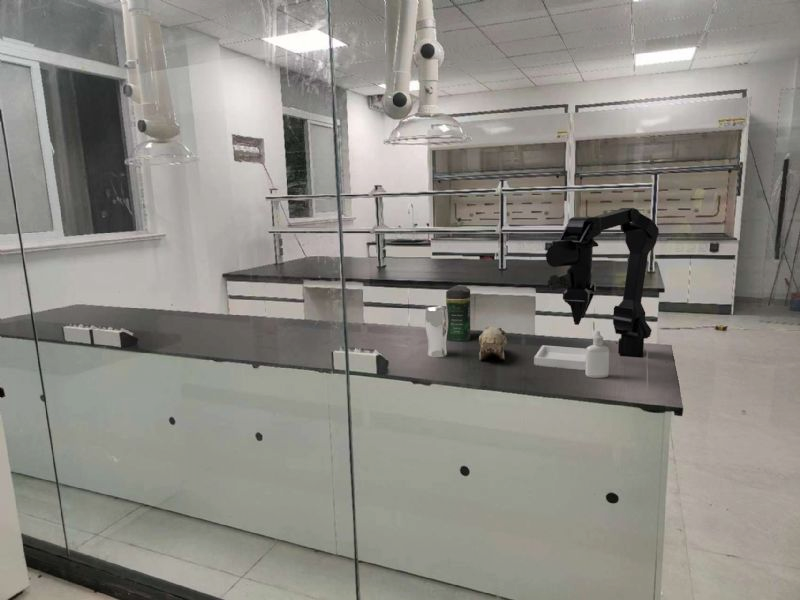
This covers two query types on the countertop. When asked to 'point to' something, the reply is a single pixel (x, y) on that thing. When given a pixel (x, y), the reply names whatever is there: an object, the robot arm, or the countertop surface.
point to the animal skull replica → (492, 343)
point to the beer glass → (436, 330)
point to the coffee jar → (458, 313)
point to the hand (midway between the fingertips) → (579, 321)
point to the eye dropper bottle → (597, 358)
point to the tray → (561, 357)
